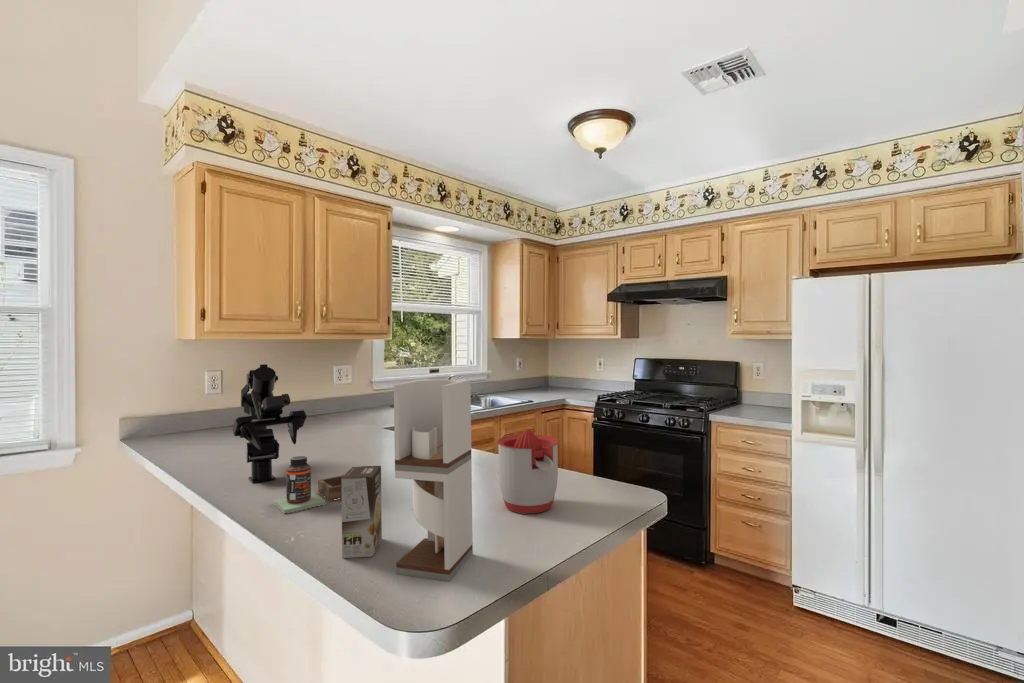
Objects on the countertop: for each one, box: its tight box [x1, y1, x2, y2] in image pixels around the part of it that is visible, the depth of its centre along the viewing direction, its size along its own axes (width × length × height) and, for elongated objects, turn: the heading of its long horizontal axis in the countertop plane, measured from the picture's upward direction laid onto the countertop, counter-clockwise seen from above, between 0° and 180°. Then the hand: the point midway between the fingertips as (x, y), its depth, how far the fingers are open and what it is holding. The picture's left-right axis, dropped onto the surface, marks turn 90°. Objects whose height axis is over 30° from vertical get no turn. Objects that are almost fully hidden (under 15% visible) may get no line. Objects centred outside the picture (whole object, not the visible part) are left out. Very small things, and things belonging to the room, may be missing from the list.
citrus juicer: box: [497, 428, 559, 515], centre depth 125 cm, size 16×17×20 cm
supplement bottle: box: [285, 455, 312, 503], centre depth 129 cm, size 6×6×11 cm
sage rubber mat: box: [273, 491, 326, 515], centre depth 129 cm, size 10×10×1 cm
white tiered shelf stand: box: [393, 378, 474, 582], centre depth 94 cm, size 11×11×35 cm
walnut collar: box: [317, 474, 345, 502], centre depth 138 cm, size 10×10×4 cm
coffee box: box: [341, 465, 383, 559], centre depth 102 cm, size 9×6×16 cm
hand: (278, 446), depth 137 cm, fingers open, 9 cm apart
